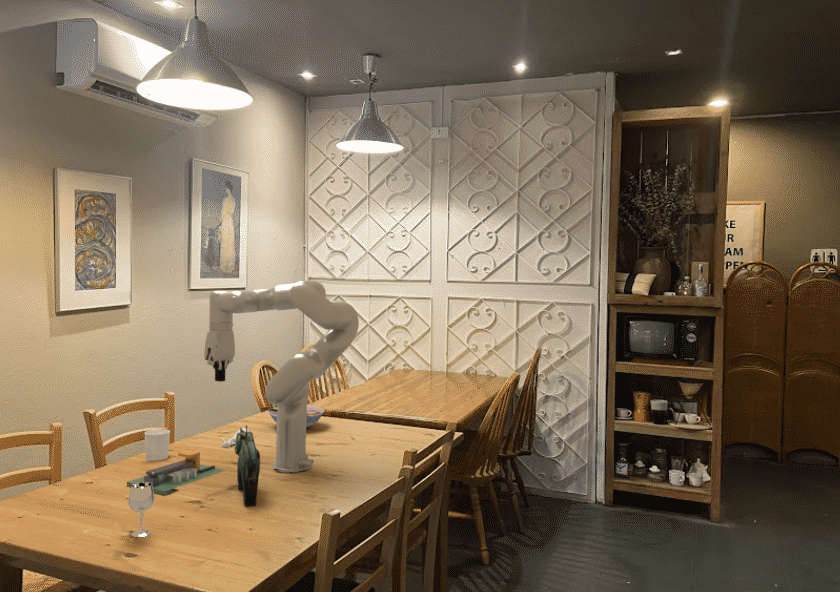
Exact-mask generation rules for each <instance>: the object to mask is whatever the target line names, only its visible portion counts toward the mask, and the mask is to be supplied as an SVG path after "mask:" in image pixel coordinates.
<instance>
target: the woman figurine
mask: <svg viewBox="0 0 840 592" xmlns="http://www.w3.org/2000/svg"><path fill="white" fill-rule="evenodd" d="M241 428H242V430H243V431H245V432H246V427H241ZM247 432H252V430H251V429H250V428H247ZM237 433H240V428H239V429H238V430H237V431H236V432H235V433H234V435H233V436H232V437H228V438H227V440H225V439H224V437H221V440H222V441H223V443H222V444H221V447H222V448H223V449H230V448H231V446H234V445H236V437H237Z"/></svg>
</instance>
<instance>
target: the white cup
mask: <svg viewBox="0 0 840 592" xmlns="http://www.w3.org/2000/svg"><path fill="white" fill-rule="evenodd" d="M170 434H171V430H169V429H164V428H160V429H159V428H158V429H157V428H156V429H151V430H147V431H144V448H145V450H144V451H145V463H148V462H151V461H153V462H156V461H157V462H159V461H164V460H166V459H168V457H169V452H170V439H171V437H170V436H171V435H170Z"/></svg>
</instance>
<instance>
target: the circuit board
mask: <svg viewBox="0 0 840 592" xmlns="http://www.w3.org/2000/svg"><path fill="white" fill-rule="evenodd" d="M225 471H226V469H224V468H218V467H216V465H205V464H200V470H199V472H197V478H195V479H194V478H190V479H189V481H181V483H180V484H177V483H175V484H170V483H166V482H161V481H159V485H157V486H154V487H153V490H154V494H158V495H161V496H168V495H170V494H173V493H176V492H179V491H180V489H176V488H179V487H181V486H184V485H185V486H186V485H187V484H190V483H193V482H197V481H199V480H202V479H204V478H207V477H211V476H213V475H216V474H219V473H222V472H225ZM139 482H144V476H142V477H139V478H134V479H132V480H129V481H126V487H130V488H131V485H133V484H135V483H139Z"/></svg>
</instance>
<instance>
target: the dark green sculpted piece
mask: <svg viewBox="0 0 840 592" xmlns="http://www.w3.org/2000/svg"><path fill="white" fill-rule="evenodd" d="M242 428H243V427H241V426H240V427H239V429H240V433H237V437H236V444H234V445H235V447H234V452H235V454H236V455H237V456H238V459H237V465H236V466H237V468H236V470H237V471H236V478H237V480H236V481H237V490H238V491H242V496H243V506H244V507H246V508H251V507H256V506H257V497H258V488H259V487H258V486H259V478H260V472H261V454H260V450H258V448H257V446H256V444H255V439H254V435H253V432H252V431H251V432H247V429H248V425H246V424H245V428H246V432H245V431H243V430H242Z"/></svg>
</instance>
